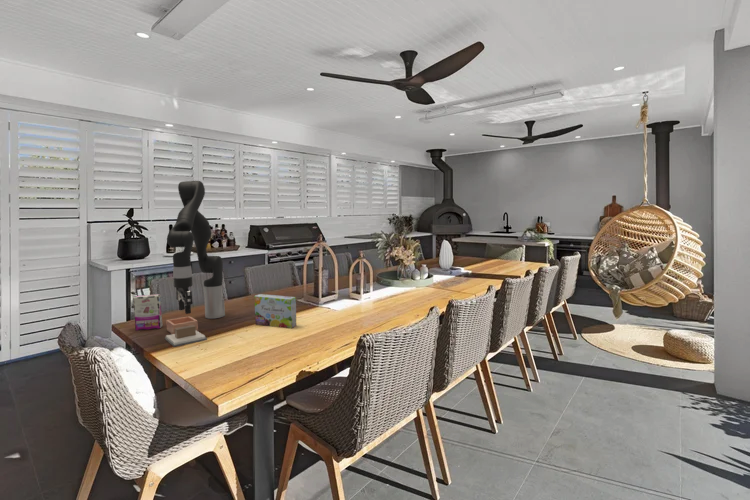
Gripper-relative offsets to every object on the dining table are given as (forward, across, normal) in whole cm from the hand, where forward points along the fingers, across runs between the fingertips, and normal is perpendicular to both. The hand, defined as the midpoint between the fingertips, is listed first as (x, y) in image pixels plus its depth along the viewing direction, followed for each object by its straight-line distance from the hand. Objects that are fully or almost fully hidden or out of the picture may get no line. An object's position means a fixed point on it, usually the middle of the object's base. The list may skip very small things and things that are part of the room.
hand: (184, 311), depth 184 cm
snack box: (+13, -7, -41) cm, 43 cm away
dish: (+13, +15, -3) cm, 20 cm away
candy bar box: (+13, +30, +8) cm, 34 cm away
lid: (+12, 0, 0) cm, 12 cm away
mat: (+13, 0, 0) cm, 13 cm away
